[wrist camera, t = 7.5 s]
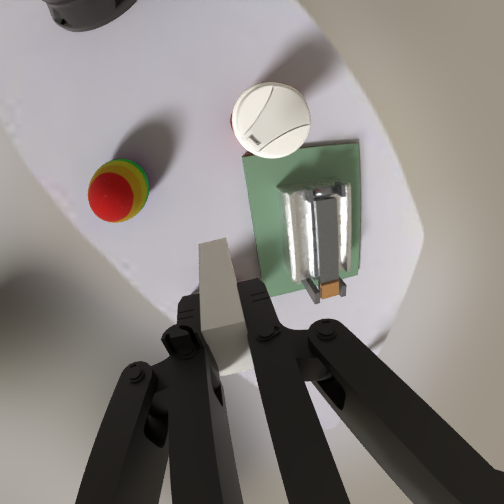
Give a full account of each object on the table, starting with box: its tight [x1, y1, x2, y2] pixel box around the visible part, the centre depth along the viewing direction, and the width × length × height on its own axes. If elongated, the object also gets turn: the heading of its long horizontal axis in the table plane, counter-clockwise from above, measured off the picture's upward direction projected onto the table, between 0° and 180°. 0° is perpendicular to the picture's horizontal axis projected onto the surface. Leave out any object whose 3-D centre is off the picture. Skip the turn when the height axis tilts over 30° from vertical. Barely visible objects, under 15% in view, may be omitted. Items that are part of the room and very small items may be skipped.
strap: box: [312, 185, 339, 299], centre depth 37 cm, size 17×3×1 cm, turn 9°
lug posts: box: [301, 277, 346, 304], centre depth 44 cm, size 2×5×8 cm, turn 99°
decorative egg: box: [88, 159, 149, 223], centre depth 31 cm, size 8×8×10 cm
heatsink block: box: [276, 177, 351, 285], centre depth 39 cm, size 15×10×7 cm
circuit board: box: [242, 143, 360, 297], centre depth 43 cm, size 24×18×1 cm
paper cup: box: [230, 82, 311, 159], centre depth 29 cm, size 8×8×14 cm
